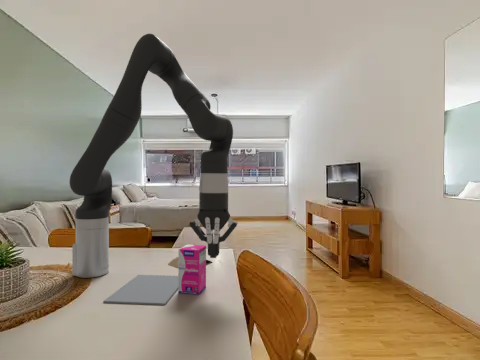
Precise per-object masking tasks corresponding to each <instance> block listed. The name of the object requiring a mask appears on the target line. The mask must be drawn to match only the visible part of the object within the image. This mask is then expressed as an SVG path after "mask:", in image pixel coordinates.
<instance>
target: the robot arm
mask: <svg viewBox="0 0 480 360" xmlns="http://www.w3.org/2000/svg"><path fill="white" fill-rule="evenodd" d="M148 72H150V73H151V74H153V75H156V76H157V77H159V79H161V80H162V81H163V82H164V83H166V85H167V86H168V87H169V88H170V90H171V92H172V95H173V98H174V99H175V101H176V102H177V104H178V106H180V108H181V109H182V111H183V112H184V113H185V114H186V116H187V117H188V121H189V122H190V125H191V127H192V129H193V131H194V133H195V134H196V136H198V137H199V138H200V139H202V140H204V141H209V142H210V144H209V149H208V150H204V151H203V152H202V153H201V155H200V177H199V186H198V191H199V195H198V196H199V203H198V209H199V211H198V213H197V215H196V216H197V217H196V218H195V219H194V220H192V221H190V222H189V224H188V225H189V226H190V228H191V230H192V231H193V232H194V233H195V235H197V237H198V238H199V240H200V241H201V242H206V243H207V255H208V256H209V257H210V259H217V257H218V256H219V255H220V243H222V242H225V241H226V240H227V239H228V238H229V236H230V235H231V234H232V233H233V231H234V229H236V227H237V226H238V221H236V220H234V219H232V218H231V215H230V213H229V178H228V177H229V176H228V163H229V162H228V157H229V154H230V149H231V146H232V141H233V137H234V136H233V135H234V129H233V123H232V122H231V120H230V119H229V118H228V117H226V116H224V115H220V114H216V113H214V112H212V111H211V107H212V106H211V103H210V101H209V99H208V98H207V97H206V95H205V94H204V93H203V92H202V91H201V90H200V89H199V88H198V86H197V85H196V84H195V83H194V82H193V80H191V78H189V76H188V75H187V74H186V73H185V71H184V69H183V68H182V66H181V64H180V62H179V61H178V58H177V56H176V55H175V53H174V52H173V50H172V49H171V48H170V47H169V45H167V43H165V42H164V41H163V40H162V39H160V38H159V37H158V36H156V35H155V34H153V33H146V34H144V35H142V36H141V37H140V38H139V39H138V40H137V42H136V43H135V46H134V48H133V49H132V53H131V55H130V57H129V60H128V62H127V66H126V68H125V71H124V73H123V75H122V78H121V81H120V82H119V85H118V86H117V89H116V91H115V94H114V95H113V97H112V99H111V101H110V103H109V104H108V107H107V108H106V110H105V112H104V114H103V116H102V119H101V120H100V123H99V125H98V126H97V129H96V130H95V133H94V134H93V137H92V138H91V140H90V142H89V145H88V146H87V147H86V149H85V151H84V152H83V154H82V155H81V157H80V159H79V160H78V161H77V163H76V165H75V166H74V167H73V169H72V171H71V173H70V175H69V187H70V189H71V192H73V194H75V195H77V196H81V197H83V200H82V203H81V204H80V205H79V206H78V207H77V208H76V210H75V217H74V218H75V243H73V244H72V248H71V249H72V252H71V253H72V260H71V261H72V263H71V264H72V269H71V270H72V272H71V273H72V276H73V277H74V276H75V277H78V278H85V279H87V278H97V277H101V276H104V275H106V274H109V267H110V265H109V263H110V260H109V257H110V252H109V249H110V246H109V245H110V244H109V243H110V241H109V240H110V239H109V237H110V236H109V235H110V229H109V226H110V224H109V222H110V221H109V216H110V214H109V213H110V210H111V207H112V202H113V201H112V200H113V197H112V196H113V179H112V174H111V172H110V171H109V169H107V167H106V166H107V164H108V162H109V160H110V158H111V157H112V156H113V154H115V153H116V152H117V151H118V150H119V149H120V148H121V147H122V146H123V145H124V144H125V143H126V142H127V141H128V140H129V138H130V137H131V136H132V134H133V133H134V131H135V128H136V127H137V125H138V123H139V122H140V119H141V116H142V105H143V103H142V89H143V84H144V81H145V79H146V77H147V75H148ZM226 224H227V230H226V231H225V232H224V234H223V235H221V232H222V229H224V227H225V225H226ZM201 225H202V227H203V228H204V229H205V232H204V230H203V229H202V228H201Z"/></svg>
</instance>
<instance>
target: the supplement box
mask: <svg viewBox="0 0 480 360" xmlns="http://www.w3.org/2000/svg"><path fill="white" fill-rule="evenodd" d="M178 257H179V266H178V268H177V269H178V271H177V272H178V273H177V274H178V275H177V276H178V290H177V291H178V293H180V294H190V295H193V294H194V295H197V296H199V295H200V293H202V291H203V290H205V288H206V287H207V261H206V260H207V245H201V244H200V245H199V244H190V243H189V244H185V245H184V246H182V247H180V248H178Z"/></svg>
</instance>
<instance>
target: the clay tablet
mask: <svg viewBox="0 0 480 360" xmlns="http://www.w3.org/2000/svg"><path fill="white" fill-rule="evenodd" d="M206 262H210V263H212V261H211V260H208V259H206ZM167 266H170V267H173V268H175V269H178V266H179V256H176V257H175V258H173V259H172V260H170V261H169V262H168V263H167Z"/></svg>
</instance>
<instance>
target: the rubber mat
mask: <svg viewBox="0 0 480 360" xmlns="http://www.w3.org/2000/svg"><path fill="white" fill-rule="evenodd" d="M177 291H178V275H161V274H160V275H158V274H157V275H156V274H154V275H153V274H137V275H136V276H135V277H133V278H132V279H131V280H129V281H128V282H127V283H125V284H124V285H123V286H122V287H120V288H119V289H117V290H116V291H115V292H113V293H112V294H110V295H109V296H108V297H107V298H105V300H103V302H102V303H104V304H106V303H108V304H127V305H129V304H130V305H131V304H133V305H150V306H151V305H153V306H154V305H155V306H156V305H157V306H158V305H159V306H167V304H168V302H169V301H170V300H171V298H172V297H173V296H174V295H175V294H176V292H177Z"/></svg>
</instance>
